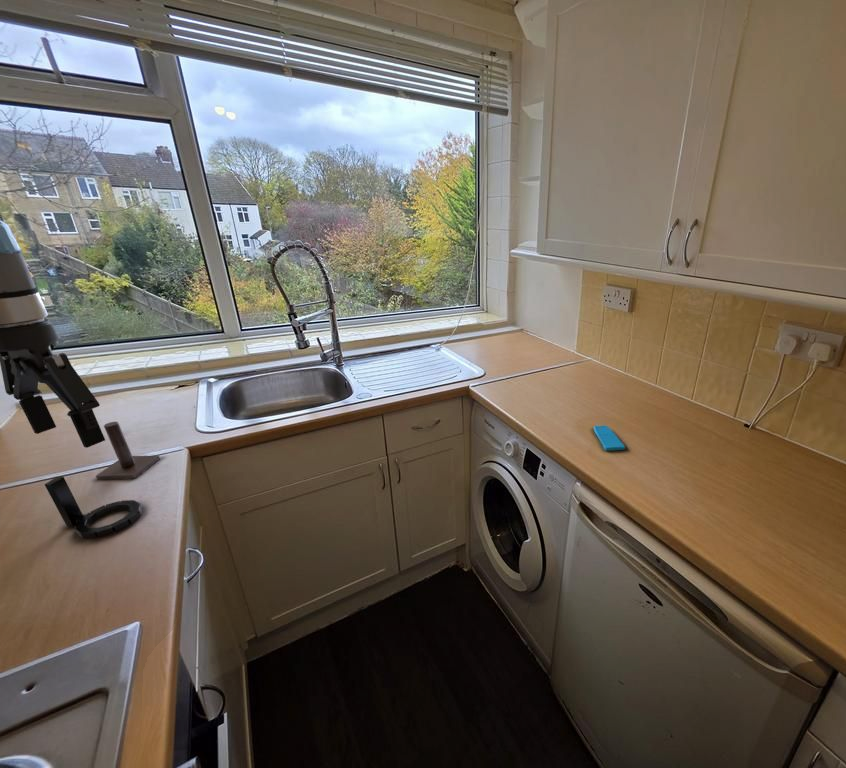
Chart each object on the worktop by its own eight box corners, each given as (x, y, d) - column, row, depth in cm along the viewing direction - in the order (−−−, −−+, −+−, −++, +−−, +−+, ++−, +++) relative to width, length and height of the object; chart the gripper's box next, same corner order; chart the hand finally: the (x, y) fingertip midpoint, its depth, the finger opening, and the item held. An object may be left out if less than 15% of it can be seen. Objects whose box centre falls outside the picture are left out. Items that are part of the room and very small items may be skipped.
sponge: (612, 425, 118) (593, 423, 117) (627, 447, 107) (606, 446, 106) (611, 430, 118) (592, 428, 117) (625, 452, 107) (604, 451, 106)
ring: (153, 504, 84) (136, 464, 80) (117, 537, 76) (96, 494, 72) (93, 506, 83) (73, 466, 79) (49, 540, 75) (24, 496, 71)
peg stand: (97, 479, 91) (75, 433, 87) (125, 459, 99) (107, 415, 94) (134, 478, 92) (115, 432, 87) (160, 458, 99) (143, 415, 95)
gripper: (96, 324, 65) (141, 439, 73) (1, 309, 71) (52, 416, 80) (33, 336, 58) (90, 461, 66) (-65, 319, 65) (-2, 434, 73)
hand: (69, 436), depth 73 cm, fingers open, 13 cm apart
